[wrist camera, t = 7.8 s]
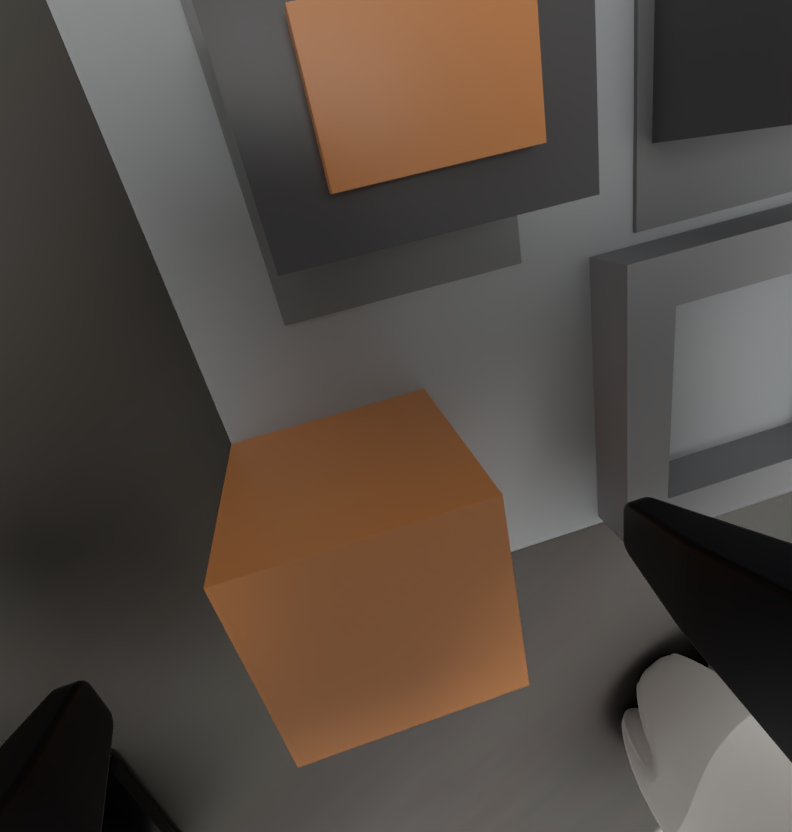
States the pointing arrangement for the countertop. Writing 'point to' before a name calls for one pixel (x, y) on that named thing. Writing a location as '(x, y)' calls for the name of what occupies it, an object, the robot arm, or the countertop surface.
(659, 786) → the water bottle
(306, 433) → the cap
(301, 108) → the block
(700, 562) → the robot arm
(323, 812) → the countertop surface
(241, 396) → the panel
